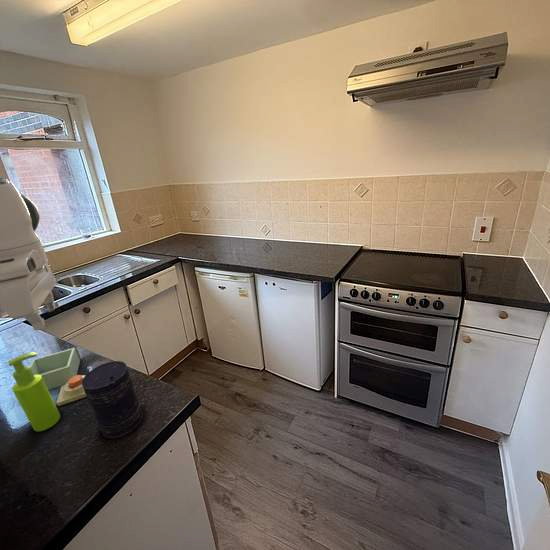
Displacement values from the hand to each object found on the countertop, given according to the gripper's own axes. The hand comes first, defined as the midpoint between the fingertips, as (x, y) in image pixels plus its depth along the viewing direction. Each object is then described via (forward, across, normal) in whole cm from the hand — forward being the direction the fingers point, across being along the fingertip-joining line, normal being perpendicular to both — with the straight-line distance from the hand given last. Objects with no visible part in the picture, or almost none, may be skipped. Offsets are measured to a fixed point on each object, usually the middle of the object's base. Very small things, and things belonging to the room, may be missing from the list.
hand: (46, 318), depth 65 cm
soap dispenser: (+31, -7, -11) cm, 33 cm away
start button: (+28, -16, -5) cm, 33 cm away
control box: (+31, -16, -5) cm, 35 cm away
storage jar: (+31, +4, +7) cm, 32 cm away
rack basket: (+30, -28, -13) cm, 44 cm away
